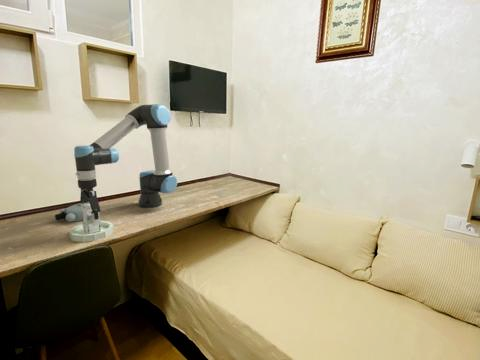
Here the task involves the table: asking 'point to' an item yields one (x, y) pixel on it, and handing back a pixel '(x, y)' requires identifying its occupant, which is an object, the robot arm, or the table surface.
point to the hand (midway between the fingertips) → (91, 221)
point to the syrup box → (88, 219)
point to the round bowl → (81, 236)
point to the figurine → (70, 213)
